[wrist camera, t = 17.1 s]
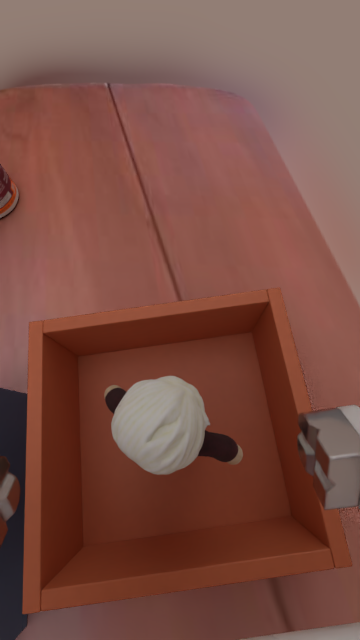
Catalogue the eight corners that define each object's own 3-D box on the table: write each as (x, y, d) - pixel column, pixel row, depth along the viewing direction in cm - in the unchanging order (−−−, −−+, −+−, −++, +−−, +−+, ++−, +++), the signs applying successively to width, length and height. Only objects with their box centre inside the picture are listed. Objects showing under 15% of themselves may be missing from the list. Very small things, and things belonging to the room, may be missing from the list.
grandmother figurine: (112, 445, 22) (15, 460, 10) (128, 389, 23) (59, 341, 11) (225, 475, 21) (269, 531, 9) (236, 415, 22) (286, 393, 10)
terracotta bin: (258, 323, 25) (280, 286, 19) (304, 526, 20) (353, 566, 14) (70, 349, 25) (28, 321, 19) (74, 559, 20) (21, 615, 14)
